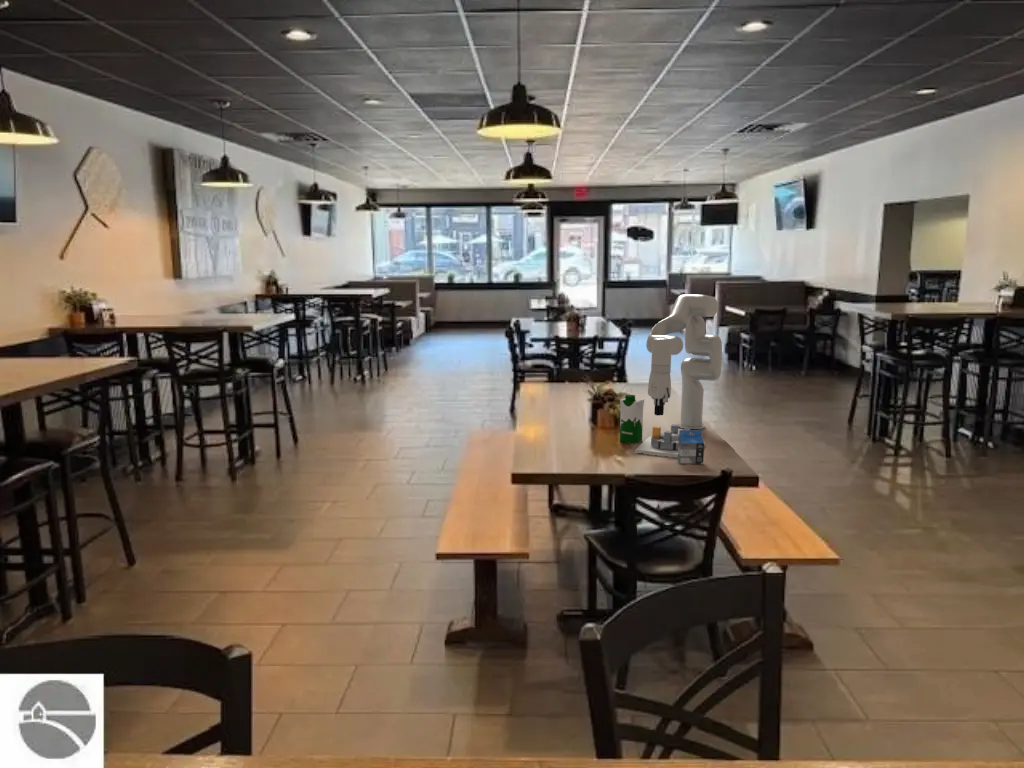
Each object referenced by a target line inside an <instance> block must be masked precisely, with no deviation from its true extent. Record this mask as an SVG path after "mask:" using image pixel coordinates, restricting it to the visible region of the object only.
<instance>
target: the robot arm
mask: <svg viewBox="0 0 1024 768" xmlns="http://www.w3.org/2000/svg"><path fill="white" fill-rule="evenodd" d="M718 309H719V304H718V300H717V299H716V297H714V296H710V295H708V294H707V295H706V294H690V293H688V294H687V293H685V294H680V295H679V296H678V297H676V299H675V301H674V304H673V305H672V308H671V311H670V313H669V315H668V316H667V317H665V318H664V319H662V320H660V321H658V323H655V325H654V326H653V327H652V328H651V330H650V332H649V335H648V337H647V340H646V346H645V347H646V350H647V351H648V352H649V353H650V354H651V361H650V362H651V364H650V367H651V368H650V373H649V378H648V385H647V394H648V396H649V397H650V398H651V399H652V400H653V405H654V412H653V413H654V415H655V416H663V415H664V411H665V407H664V406H665V405H666V403H668V402H669V399H670V397H671V395H672V394H671V393H672V382H671V381H672V379H671V378H672V377H671V370H672V369H671V368H672V356H676V355H679V354H680V353H681V352H682V351H683V349H684V350H685V352H686V354H687V355H691V356H700V357H701V356H702V357H709V358H700V357H687V358H684V359H683V360H682V361H681V363H680V374H681V405H680V421H679V422H677V423H676V425H678V428H679V427H680V429H683V428H684V429H699V430H704V429H706V424H705V423H704V422H703V415H704V414H703V413H704V412H703V411H704V410H703V409H704V387H703V385H702V383H701V380H702V381H710V382H712V381H713V382H714V381H717V380H719V379H720V378H721V374H722V358H723V344H722V339H721V336H718V335H716V334H708V333H707V334H706V321H705V320H704V318H705V317H707V318H711V317H714V316H715V315H717V313H718ZM703 317H704V318H703ZM683 330H685V331H684V341H683V339H682V337H679V336H677V335H676V336H675V335H670V334H674V333H678V332H680V331H683ZM703 428H704V429H703Z"/></svg>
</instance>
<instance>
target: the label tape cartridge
mask: <svg viewBox="0 0 1024 768" xmlns="http://www.w3.org/2000/svg"><path fill="white" fill-rule="evenodd" d="M690 432H691V434H690V435H687V433H690ZM678 434H679V445H678V458H677V463H679V465H704V455H705V446H704V442H705V441H704V439H703V429H699V430H683V429H680V430H679V429H678Z"/></svg>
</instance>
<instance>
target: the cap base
mask: <svg viewBox="0 0 1024 768" xmlns="http://www.w3.org/2000/svg"><path fill="white" fill-rule="evenodd" d="M678 434H679V433H678ZM678 434H675V433H672V441H679V435H678ZM651 437H652V435H649V436H648V437H647V438H646V439H645V440H644V441H643V442H642V443H640V445H638V447H637V448H635V451H634V452H635V454H638V453H643V454H642V455H647V454H649V455H648V456H655V455H657V456H658V457H664V456H668V457H667V458H672V457H678V450H664V449H660V448H659V449H658V448H656V447H654V446H652V445H651ZM663 440H664V439H663ZM705 445H706V442H705V441H704V447H705Z"/></svg>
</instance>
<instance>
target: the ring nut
mask: <svg viewBox="0 0 1024 768" xmlns="http://www.w3.org/2000/svg"><path fill="white" fill-rule="evenodd" d="M661 427H662V426H658V425H654V426H652V431H651V434H652V435H651V436H652V437H651V445H652V446H654V447H656V448H658V449H659V448H660V449H664V450H678V445H679V441H672V433H675V434H678V435H679V427H678V425H677V423H676V424H672V423H671V425H670V430H665V431H664V433H661V432H662V431H661V430H662V428H661ZM682 430H690V429H683V428H682ZM687 435H692V433H691V432H690V433H687ZM663 439H664V440H663Z"/></svg>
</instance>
